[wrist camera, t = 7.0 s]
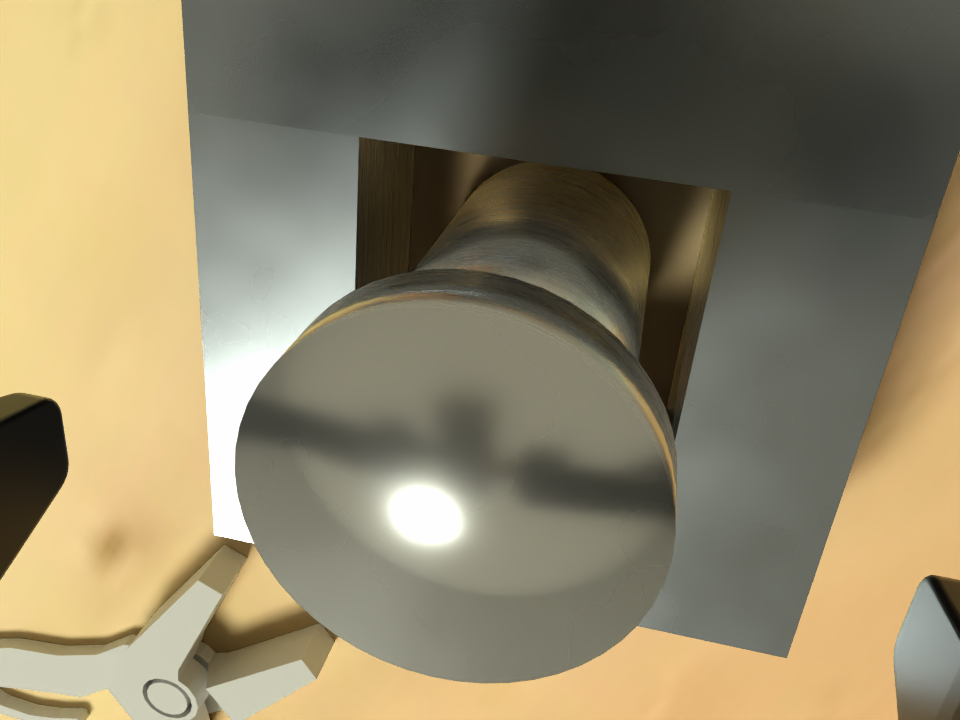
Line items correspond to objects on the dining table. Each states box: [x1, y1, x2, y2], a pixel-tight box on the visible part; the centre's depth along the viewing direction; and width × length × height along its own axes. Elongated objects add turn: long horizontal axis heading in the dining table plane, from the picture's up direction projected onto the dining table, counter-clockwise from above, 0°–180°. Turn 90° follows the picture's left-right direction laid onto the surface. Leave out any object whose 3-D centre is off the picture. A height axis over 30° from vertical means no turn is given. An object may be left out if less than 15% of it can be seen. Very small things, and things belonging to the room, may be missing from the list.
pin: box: [234, 162, 677, 683], centre depth 13 cm, size 5×5×8 cm
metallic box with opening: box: [181, 0, 960, 658], centre depth 12 cm, size 10×18×4 cm, turn 175°
